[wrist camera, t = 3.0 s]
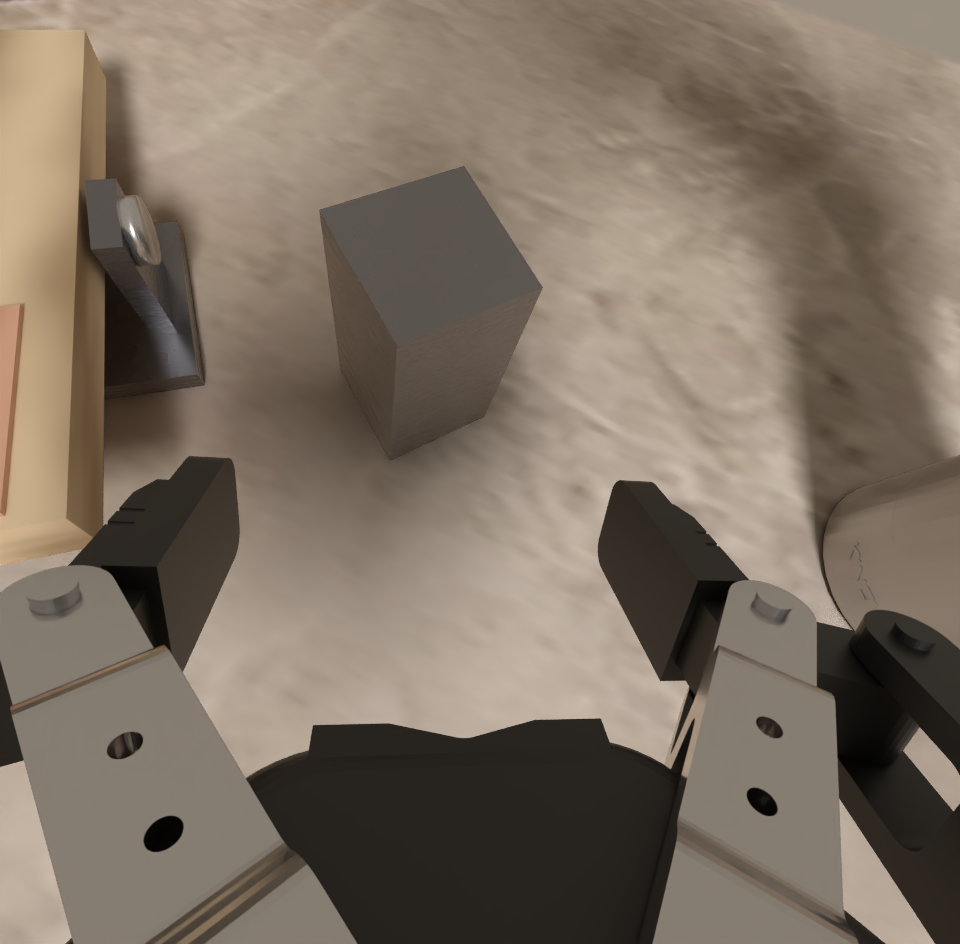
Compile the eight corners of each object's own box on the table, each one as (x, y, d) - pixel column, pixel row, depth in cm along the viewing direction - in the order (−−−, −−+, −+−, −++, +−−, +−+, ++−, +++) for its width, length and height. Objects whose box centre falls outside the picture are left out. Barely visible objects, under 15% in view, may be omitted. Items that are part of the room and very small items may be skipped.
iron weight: (434, 332, 27) (464, 166, 18) (483, 416, 26) (542, 287, 17) (340, 370, 26) (319, 209, 16) (389, 460, 25) (397, 345, 15)
